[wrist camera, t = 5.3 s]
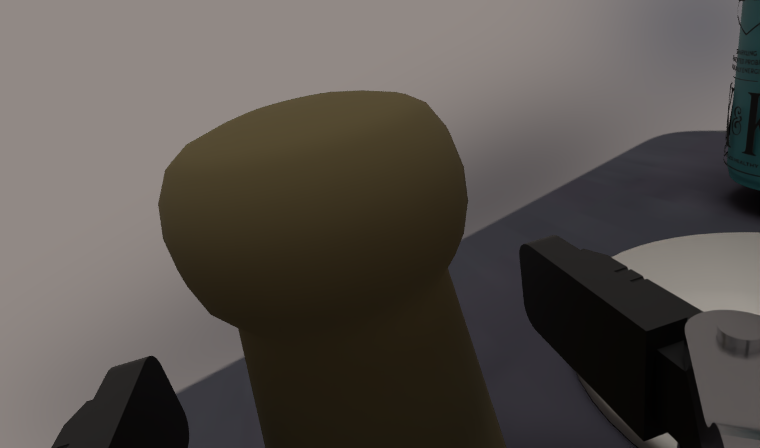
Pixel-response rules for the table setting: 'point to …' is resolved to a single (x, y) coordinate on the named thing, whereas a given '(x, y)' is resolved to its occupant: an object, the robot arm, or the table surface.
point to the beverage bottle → (746, 103)
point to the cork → (336, 269)
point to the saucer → (694, 287)
